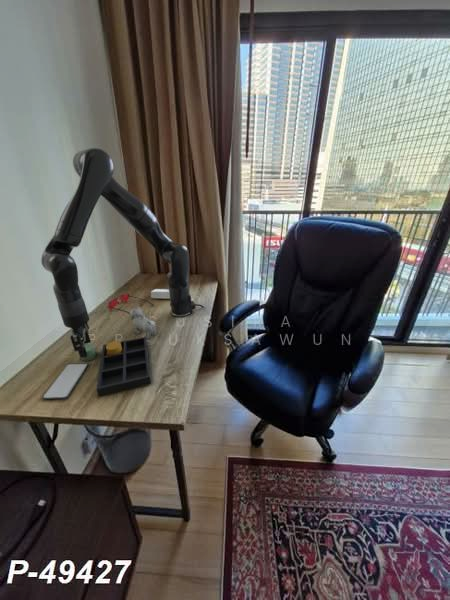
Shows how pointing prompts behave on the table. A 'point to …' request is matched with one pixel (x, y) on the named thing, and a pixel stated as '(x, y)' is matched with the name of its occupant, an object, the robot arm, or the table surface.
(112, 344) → the ochre token
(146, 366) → the grid
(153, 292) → the white box
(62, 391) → the smartphone
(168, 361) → the table surface
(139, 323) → the dog figurine
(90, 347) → the green short cylinder
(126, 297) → the glasses
